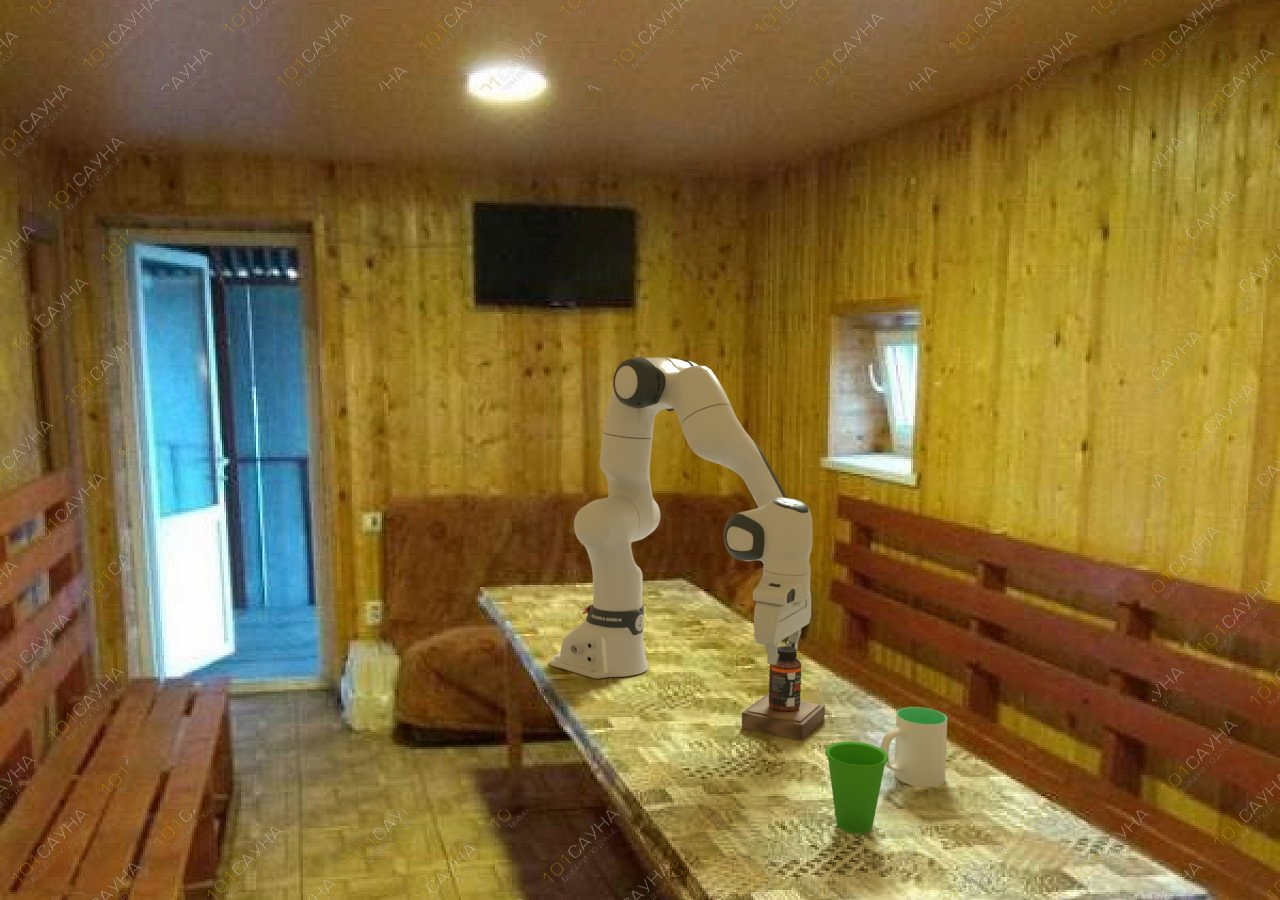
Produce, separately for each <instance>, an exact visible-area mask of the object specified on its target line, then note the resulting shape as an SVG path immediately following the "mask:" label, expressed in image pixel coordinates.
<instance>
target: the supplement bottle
mask: <svg viewBox="0 0 1280 900" xmlns="http://www.w3.org/2000/svg"><path fill="white" fill-rule="evenodd" d="M797 650H798V649H797ZM797 650H796V649H795V648H793V647H787V646H786V645H783V646H778V647H777V652H778V654H779V662H778V663H777V664H775V665H771V664H769V676H768V677H769V678H768V681H769V683H768V695H769V706H770V707H771V708H773V709H775V710H779V711H795V710H797V709H798V708H799V707H800V701H801V691H802V689H801V687H802V685H801V684H802V662H801V661H800V660H799V659H798V658H797V652H798V651H797Z"/></svg>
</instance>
